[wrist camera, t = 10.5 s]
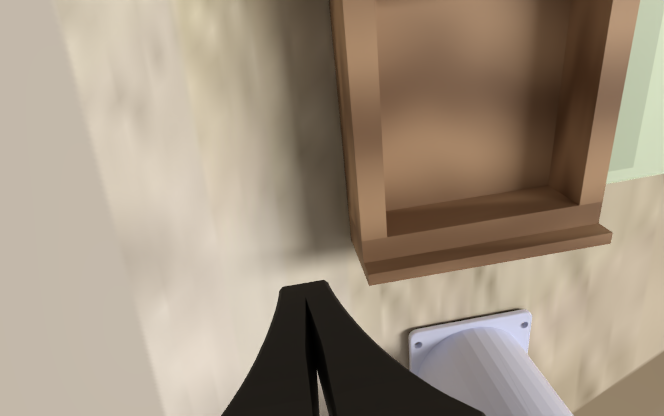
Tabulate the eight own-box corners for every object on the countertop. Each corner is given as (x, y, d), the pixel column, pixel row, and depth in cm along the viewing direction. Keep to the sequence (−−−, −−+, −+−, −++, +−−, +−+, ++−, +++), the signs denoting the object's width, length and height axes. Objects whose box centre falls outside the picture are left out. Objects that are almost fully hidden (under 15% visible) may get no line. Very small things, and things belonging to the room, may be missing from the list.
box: (556, 205, 26) (610, 243, 22) (351, 239, 24) (369, 285, 21) (595, -83, 19) (681, -103, 15) (323, -55, 18) (341, -69, 14)
